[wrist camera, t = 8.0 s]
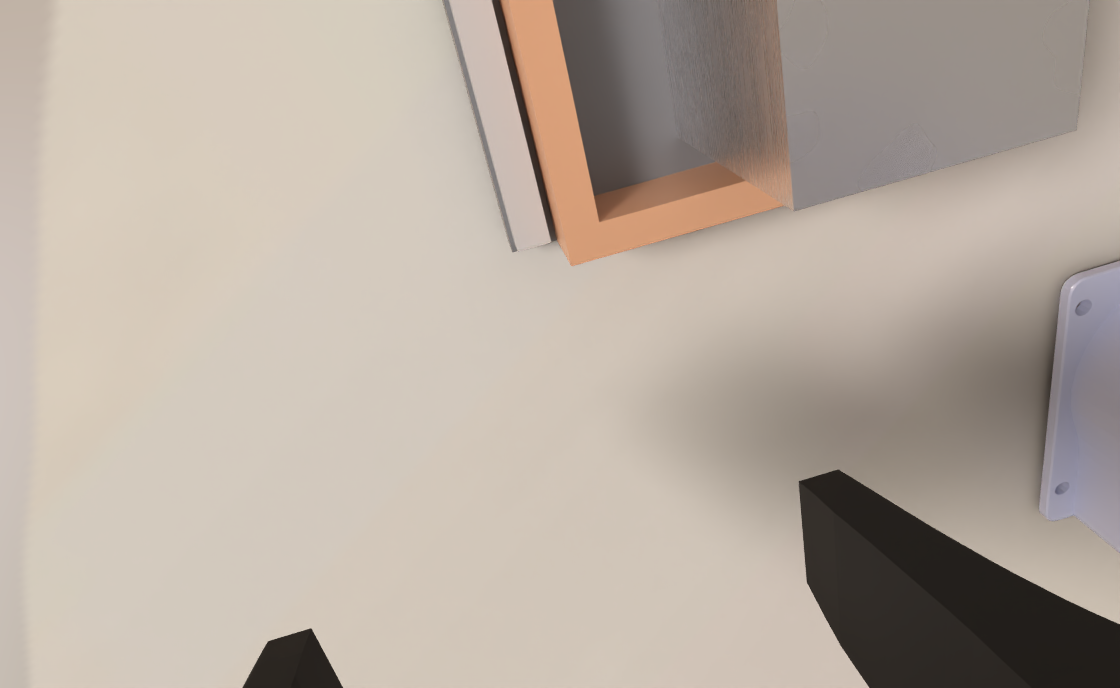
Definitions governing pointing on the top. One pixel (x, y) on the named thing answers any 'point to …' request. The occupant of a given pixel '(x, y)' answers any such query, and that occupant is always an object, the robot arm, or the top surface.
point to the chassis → (586, 127)
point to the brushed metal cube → (868, 86)
